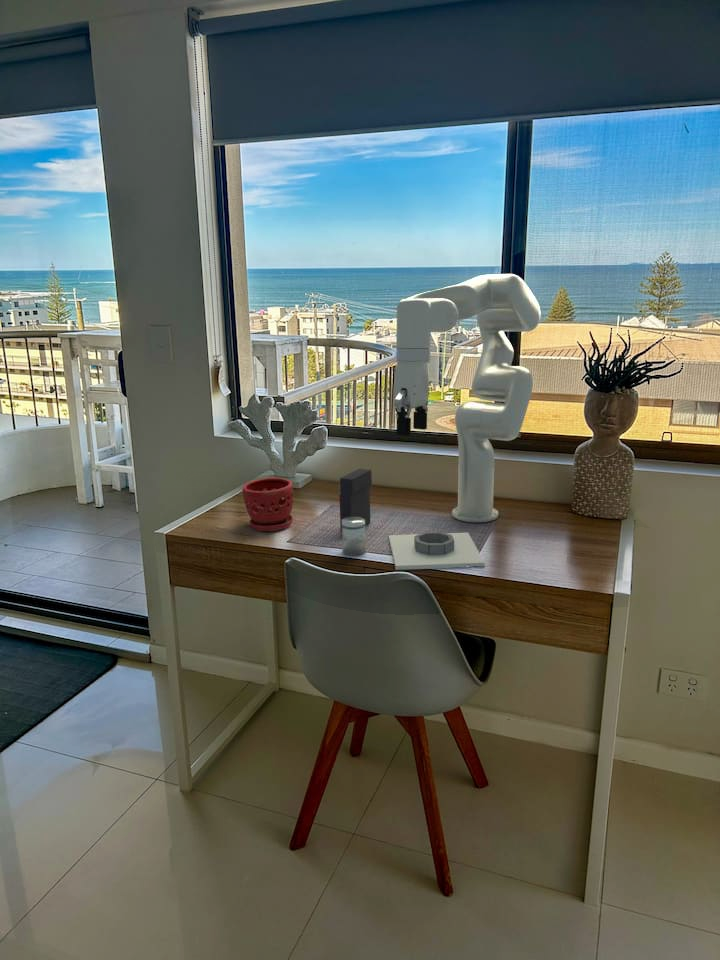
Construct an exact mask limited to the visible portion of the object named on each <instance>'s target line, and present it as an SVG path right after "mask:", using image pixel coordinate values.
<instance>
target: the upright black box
mask: <svg viewBox="0 0 720 960" xmlns="http://www.w3.org/2000/svg"><path fill="white" fill-rule="evenodd" d="M372 479H373V478H372V469H365V468H358V469H356V470H354V471H352V472H350V473H348V474H346V475H343V476H342V477H340V478H339V497H338V498H339V522H340V527H339V528H340V531H341V532H342V519H344V518H347V517H361V518H364V519H365V527H366V526H368V525H370V524H371V492H370V491H371V489H370V488H371V485H372V483H373V482H372ZM367 524H368V525H367Z"/></svg>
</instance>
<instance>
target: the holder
mask: <svg viewBox="0 0 720 960" xmlns="http://www.w3.org/2000/svg"><path fill="white" fill-rule="evenodd" d="M388 540H389V545H390V546H389V547H390V549H391V554H392V558H393V559H394V560H393V559H392V560H393V563H394V567H395V568H394V569H395V571H404V570H405V571H406V570H425V569H426V570H430V569H431V570H432V569H433V570H434V569H454V568H453V567H464V568H473V567H472V566H486V562H485V560H484V559H483V557H482V555H481V554H480V551H479V550H478V548H477V546H476V544H475V542H474V541H473V539H472V537H471V535H470V534H469V532H452V533H451V532H442V531H423V532H421V533H419V534H418V533H415V534H414V533H413V534H389V535H388ZM467 566H468V567H467ZM451 567H452V568H451Z"/></svg>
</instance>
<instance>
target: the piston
mask: <svg viewBox="0 0 720 960" xmlns="http://www.w3.org/2000/svg"><path fill="white" fill-rule="evenodd" d="M341 538H342V539H341V541H342V545H341V546H342V554H343V553H344V554H345V556H347V555H349V556H348V557H359V556H362V555H365V554H366V526H365V519H364V518H361V517H347V518H344V519H342V531H341ZM344 554H343V555H344Z"/></svg>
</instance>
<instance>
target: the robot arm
mask: <svg viewBox="0 0 720 960" xmlns="http://www.w3.org/2000/svg"><path fill="white" fill-rule="evenodd" d="M540 307H541V306H540V304H539V302H538V300H537V299H536V296H535V295H534V294H533V292H532V290H531V289H530V288H529V286H528V284H526V282H525V281H524V279H522V278H521V277H520V276H519V275H516V274H514V273H498V274H483V275H478V276H475V277H473V278H471V279H468V280H466V281H463V282H460V283H458V284H455V285H450V286H449V285H448V286H446V287H443V288H438V289H434V290H429V291H425V292H421V293H417V294H415V295H413V296H409V297H407V298H403V299H401V300H399V301H398V302H397V305H396V353H395V354H396V355H395V356H396V360H395V362H396V368H395V376H394V384H393V385H394V386H393V406H394V408H395V412H396V413H395V418H396V436H402V437H403V436H404V437H410V436H411V433H412V432H411V429H412V427H413V429H414V430H424V431H425V430H427V428H428V411H429V407H428V404H429V394H430V392H429V388H430V387H429V365H428V364H430V363H431V339H432V338H431V333H447V332H449V331H451V330H453V329H454V327H456V326H457V324H458V321H463V320H468V319H470V318H472V317H474V316H476V320H477V326H478V329H479V332H480V338H481V340H482V349H481V354H480V357H479V361H478V364H477V368H476V370H475V373H474V376H473V380H472V385H471V392H472V394H473V396H474V397H475V398H476V399H479V400H469V401H466V402H463V403H461V404H460V405H459V406H458V408H457V409H456V411H455V415H454V416H455V417H454V419H455V421H454V422H455V428H456V434H457V444H458V460H457V461H458V465H457V466H458V472H457V474H458V476H457V483H458V484H457V506H456V507H454V508H453V509H452V511H451V516H452V517H453V518H454V519H456V520H459V521H461V522H467V523H488V522H492V521H494V520H496V519H498V517H499V511H498V510H497V509H496V508H494V484H495V483H494V480H495V478H494V477H495V452H494V451H495V450H494V448H493V446H492V443H491V442H490V440H497V441H507V442H509V441H512V440H515V439H517V437H518V436H519V434H520V432H521V429H522V426H523V423H524V420H525V417H526V413H527V410H528V407H529V404H530V400H531V397H532V393H533V387H534V386H533V385H534V383H533V377H532V374H531V371H530V370H529V369H527V368H526V367H524V366H519V365H516V366H515V365H512V362H513V360H514V355H515V351H514V348H513V346H512V344H511V342H510V340H509V339H508V338H507V336H506V334H505V332H514V333H515V332H522V333H523V332H525V333H527V332H530V331H531V332H532V331H533V330H535V329H536V328H537V327H538V325H539V324H540V320H541V317H542V316H541V308H540ZM480 400H483V401H480ZM503 402H504V403H503ZM413 409H414V411H413V423H412V417H410V416H411V412H412V410H413ZM412 424H413V426H412ZM411 426H412V427H411Z"/></svg>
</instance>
